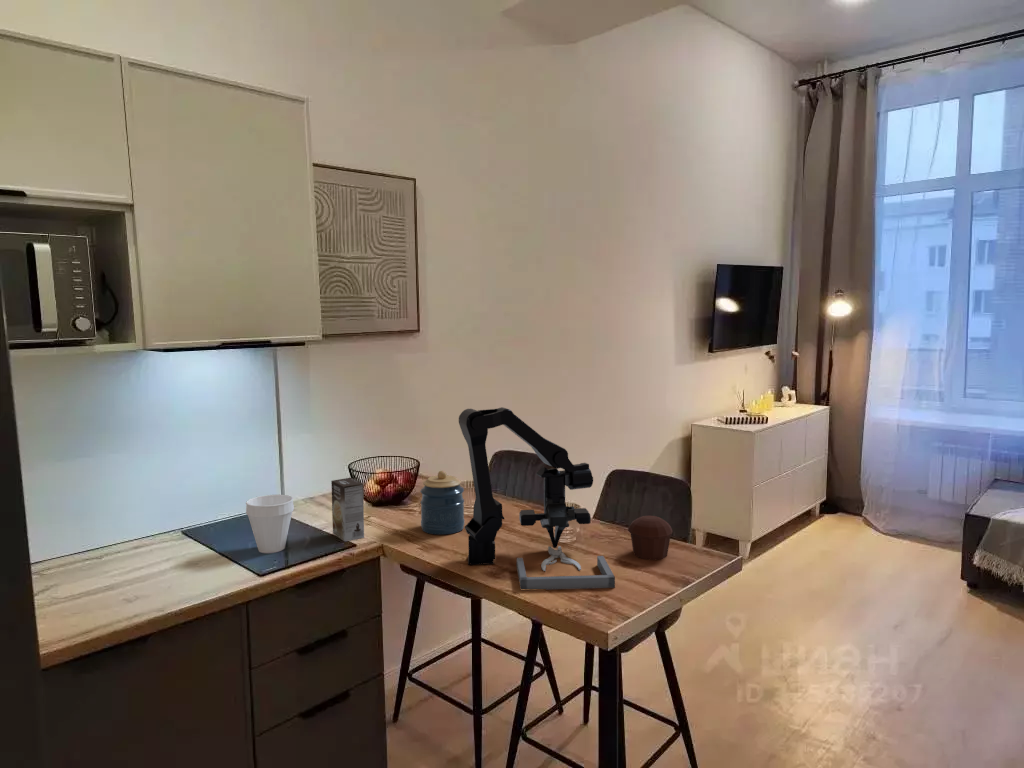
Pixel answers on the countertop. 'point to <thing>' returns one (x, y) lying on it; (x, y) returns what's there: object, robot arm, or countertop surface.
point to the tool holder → (568, 579)
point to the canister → (442, 505)
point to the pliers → (558, 554)
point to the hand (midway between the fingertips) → (554, 547)
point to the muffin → (650, 537)
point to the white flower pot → (270, 521)
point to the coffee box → (347, 509)
